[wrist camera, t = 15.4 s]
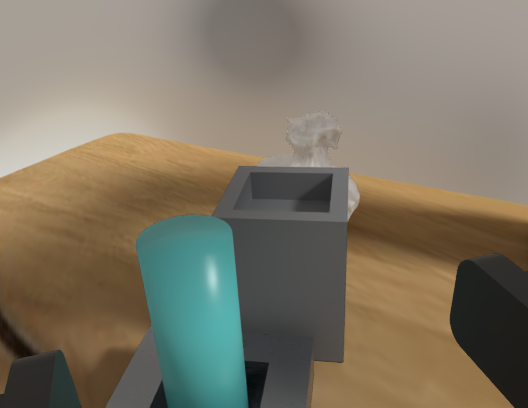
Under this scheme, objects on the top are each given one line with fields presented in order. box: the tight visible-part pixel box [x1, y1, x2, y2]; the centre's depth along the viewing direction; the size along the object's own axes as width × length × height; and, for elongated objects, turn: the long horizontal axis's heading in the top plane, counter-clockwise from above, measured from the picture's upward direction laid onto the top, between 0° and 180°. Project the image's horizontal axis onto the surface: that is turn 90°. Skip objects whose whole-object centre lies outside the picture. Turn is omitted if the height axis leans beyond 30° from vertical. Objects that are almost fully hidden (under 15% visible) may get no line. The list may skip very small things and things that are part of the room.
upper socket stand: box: [212, 166, 349, 362], centre depth 32 cm, size 8×8×10 cm
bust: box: [256, 111, 360, 220], centre depth 46 cm, size 12×8×11 cm
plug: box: [136, 215, 249, 408], centre depth 23 cm, size 4×4×12 cm
